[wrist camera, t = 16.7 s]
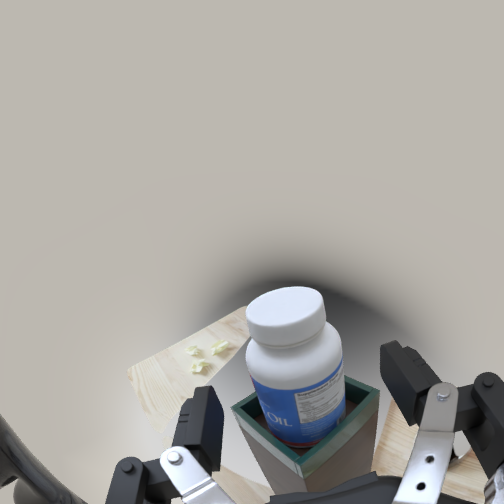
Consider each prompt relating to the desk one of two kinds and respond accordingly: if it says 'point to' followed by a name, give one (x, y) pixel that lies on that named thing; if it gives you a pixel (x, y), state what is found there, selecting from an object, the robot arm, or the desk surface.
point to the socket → (328, 445)
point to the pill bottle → (296, 365)
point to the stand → (328, 474)
